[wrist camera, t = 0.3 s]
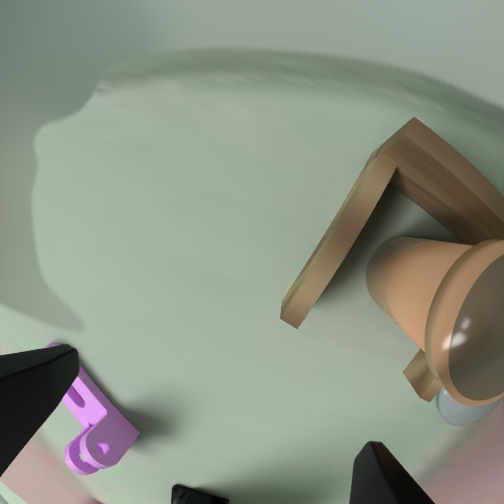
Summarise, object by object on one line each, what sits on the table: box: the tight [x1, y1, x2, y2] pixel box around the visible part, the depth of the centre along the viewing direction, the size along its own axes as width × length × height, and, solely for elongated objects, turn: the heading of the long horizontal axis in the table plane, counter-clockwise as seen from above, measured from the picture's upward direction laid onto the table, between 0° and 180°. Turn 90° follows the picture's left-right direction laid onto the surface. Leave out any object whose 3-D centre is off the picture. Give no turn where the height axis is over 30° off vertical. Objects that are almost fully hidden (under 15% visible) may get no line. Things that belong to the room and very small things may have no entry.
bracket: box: [43, 343, 140, 475], centre depth 21 cm, size 13×6×7 cm, turn 41°
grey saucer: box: [437, 387, 502, 426], centre depth 19 cm, size 9×9×1 cm
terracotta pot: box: [366, 236, 504, 407], centre depth 13 cm, size 6×6×13 cm
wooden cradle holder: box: [280, 117, 504, 402], centre depth 16 cm, size 12×13×8 cm
